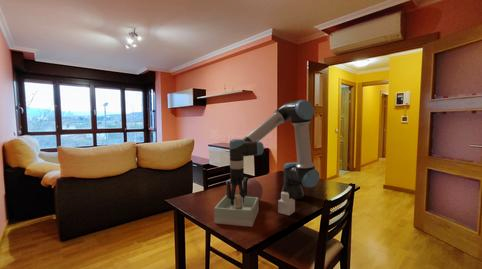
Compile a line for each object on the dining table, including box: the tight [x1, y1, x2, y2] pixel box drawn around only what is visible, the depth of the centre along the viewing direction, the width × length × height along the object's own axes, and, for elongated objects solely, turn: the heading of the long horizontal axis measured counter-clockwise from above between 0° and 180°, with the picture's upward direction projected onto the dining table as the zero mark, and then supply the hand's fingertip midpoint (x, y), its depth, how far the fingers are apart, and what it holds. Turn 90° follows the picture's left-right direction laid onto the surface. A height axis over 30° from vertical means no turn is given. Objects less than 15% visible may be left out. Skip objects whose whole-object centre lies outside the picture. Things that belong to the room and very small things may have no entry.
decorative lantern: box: [237, 178, 264, 202], centre depth 143 cm, size 15×20×15 cm
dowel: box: [234, 193, 241, 209], centre depth 124 cm, size 4×4×12 cm
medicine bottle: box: [277, 190, 296, 216], centre depth 129 cm, size 7×7×12 cm
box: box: [213, 194, 260, 228], centre depth 124 cm, size 20×20×8 cm
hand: (237, 209), depth 124 cm, fingers closed on dowel, 4 cm apart
